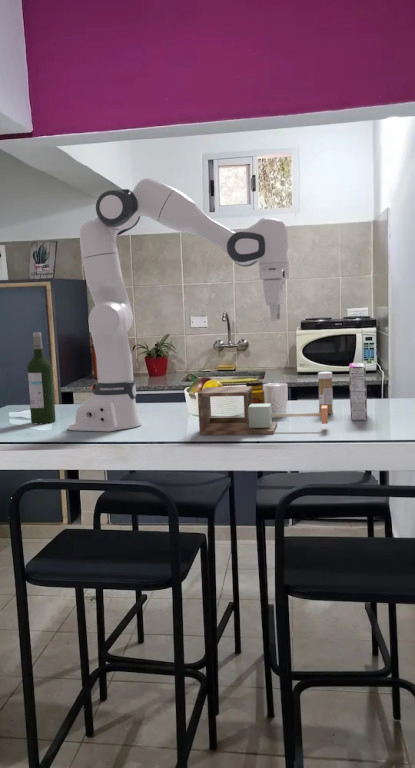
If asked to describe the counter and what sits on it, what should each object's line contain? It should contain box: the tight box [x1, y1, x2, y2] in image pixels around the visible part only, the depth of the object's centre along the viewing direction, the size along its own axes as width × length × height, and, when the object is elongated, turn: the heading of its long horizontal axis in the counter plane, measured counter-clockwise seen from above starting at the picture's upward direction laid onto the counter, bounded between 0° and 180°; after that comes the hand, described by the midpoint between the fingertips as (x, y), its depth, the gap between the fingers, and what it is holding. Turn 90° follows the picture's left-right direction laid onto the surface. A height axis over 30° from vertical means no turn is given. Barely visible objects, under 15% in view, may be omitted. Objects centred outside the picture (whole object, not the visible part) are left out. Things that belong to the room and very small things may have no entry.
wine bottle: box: [26, 331, 56, 425], centre depth 232 cm, size 8×8×30 cm
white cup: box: [263, 382, 288, 414], centre depth 226 cm, size 8×8×10 cm
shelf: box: [197, 386, 278, 436], centre depth 202 cm, size 21×13×12 cm, turn 80°
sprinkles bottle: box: [317, 371, 334, 415], centre depth 224 cm, size 5×5×14 cm
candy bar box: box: [348, 362, 368, 421], centre depth 214 cm, size 11×5×16 cm, turn 168°
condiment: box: [245, 380, 265, 417], centre depth 220 cm, size 7×8×12 cm
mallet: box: [248, 403, 329, 428], centre depth 200 cm, size 22×6×6 cm, turn 80°
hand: (275, 320), depth 210 cm, fingers open, 8 cm apart
